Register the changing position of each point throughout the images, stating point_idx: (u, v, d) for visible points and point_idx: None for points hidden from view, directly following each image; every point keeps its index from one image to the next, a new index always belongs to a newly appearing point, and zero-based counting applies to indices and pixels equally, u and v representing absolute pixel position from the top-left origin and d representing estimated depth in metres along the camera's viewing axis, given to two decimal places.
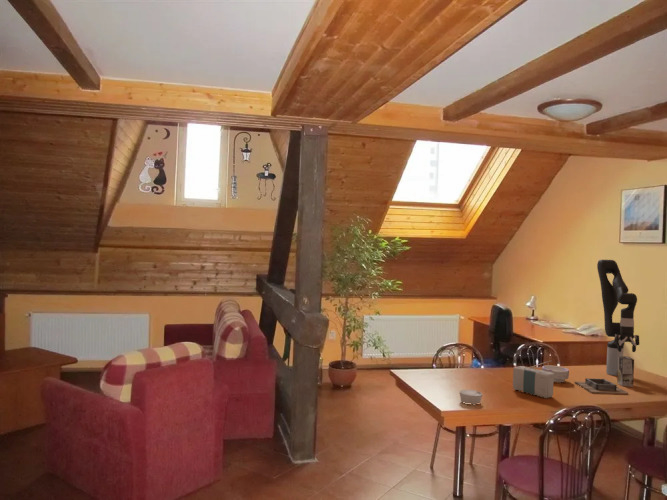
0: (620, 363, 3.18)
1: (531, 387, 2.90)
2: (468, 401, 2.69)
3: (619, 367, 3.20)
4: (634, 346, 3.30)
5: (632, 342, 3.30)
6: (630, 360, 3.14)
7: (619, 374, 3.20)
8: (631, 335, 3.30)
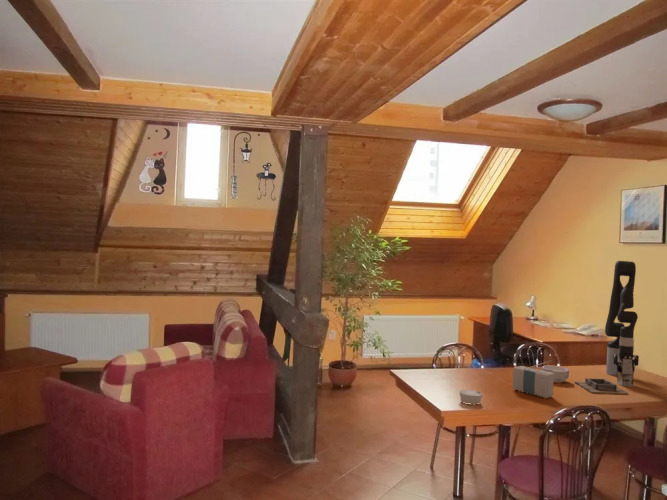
0: None
1: (531, 387, 2.90)
2: (468, 401, 2.69)
3: None
4: None
5: None
6: (630, 360, 3.14)
7: (619, 374, 3.20)
8: (631, 355, 3.17)
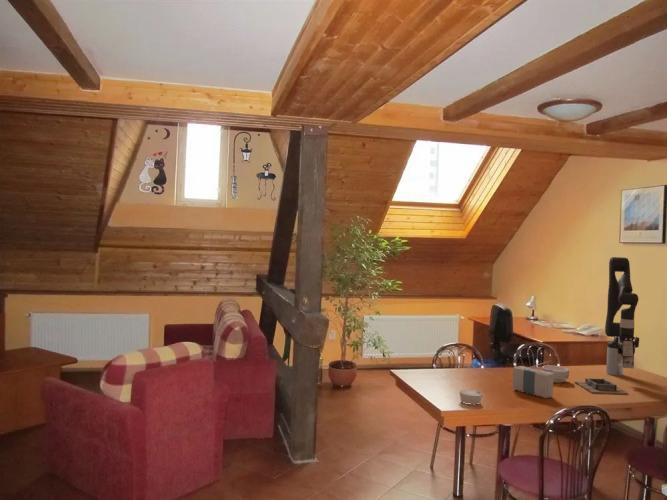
0: None
1: (531, 387, 2.90)
2: (468, 401, 2.69)
3: None
4: None
5: None
6: (631, 342, 3.14)
7: (619, 356, 3.20)
8: (631, 336, 3.17)
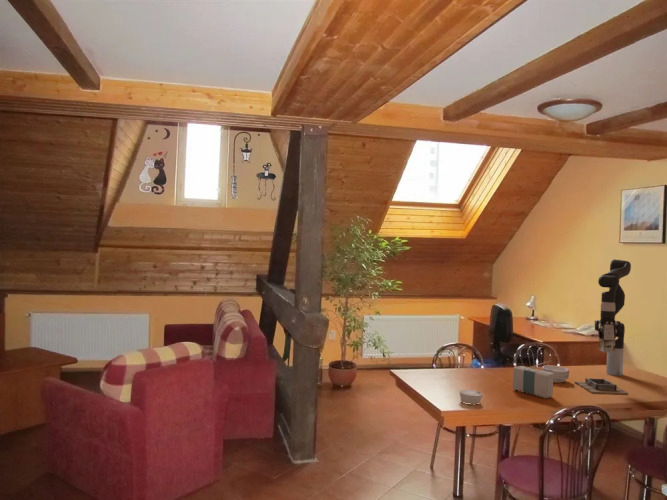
0: None
1: (531, 387, 2.89)
2: (468, 401, 2.69)
3: None
4: None
5: None
6: (612, 325, 3.04)
7: (600, 341, 3.10)
8: (612, 320, 3.08)
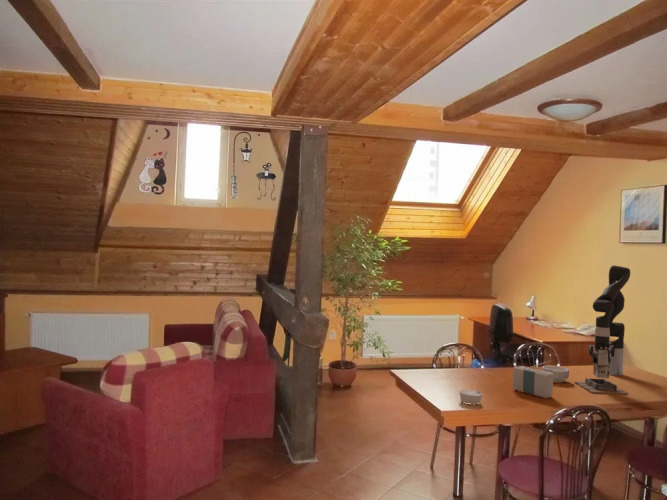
0: None
1: (531, 387, 2.89)
2: (468, 401, 2.69)
3: None
4: None
5: None
6: (606, 351, 3.03)
7: (594, 366, 3.09)
8: (606, 345, 3.06)
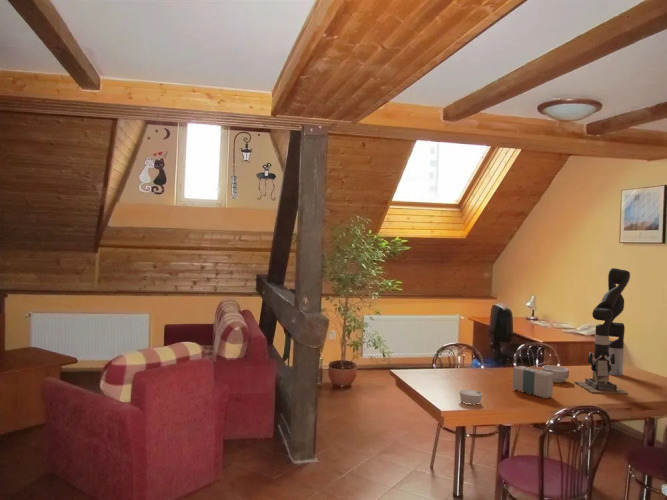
0: (595, 364, 3.07)
1: (530, 387, 2.89)
2: (468, 401, 2.69)
3: None
4: (609, 365, 3.07)
5: None
6: (605, 361, 3.03)
7: (594, 376, 3.09)
8: (606, 353, 3.06)
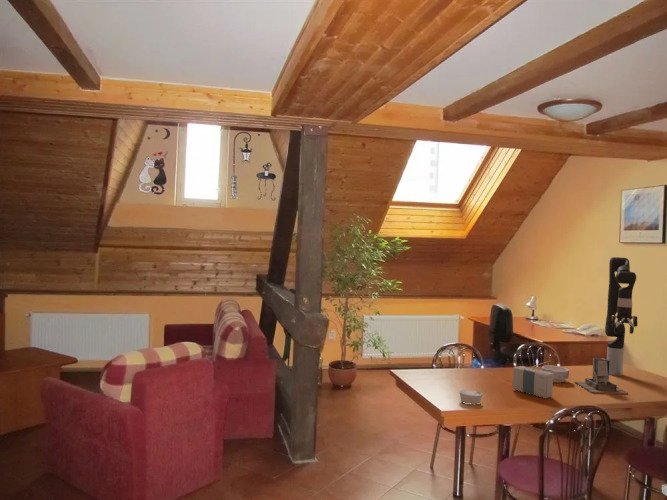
0: (595, 364, 3.07)
1: (530, 387, 2.89)
2: (468, 401, 2.69)
3: (594, 369, 3.09)
4: (632, 327, 3.12)
5: (630, 323, 3.11)
6: (605, 361, 3.03)
7: (594, 376, 3.09)
8: (629, 316, 3.11)
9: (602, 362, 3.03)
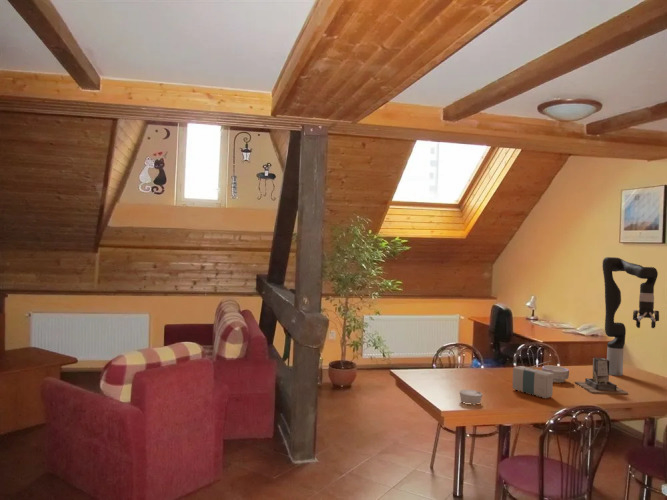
0: (595, 364, 3.07)
1: (530, 387, 2.89)
2: (468, 401, 2.69)
3: (594, 369, 3.09)
4: (654, 322, 3.17)
5: (652, 318, 3.17)
6: (605, 361, 3.03)
7: (594, 376, 3.09)
8: (651, 311, 3.17)
9: (602, 362, 3.03)
